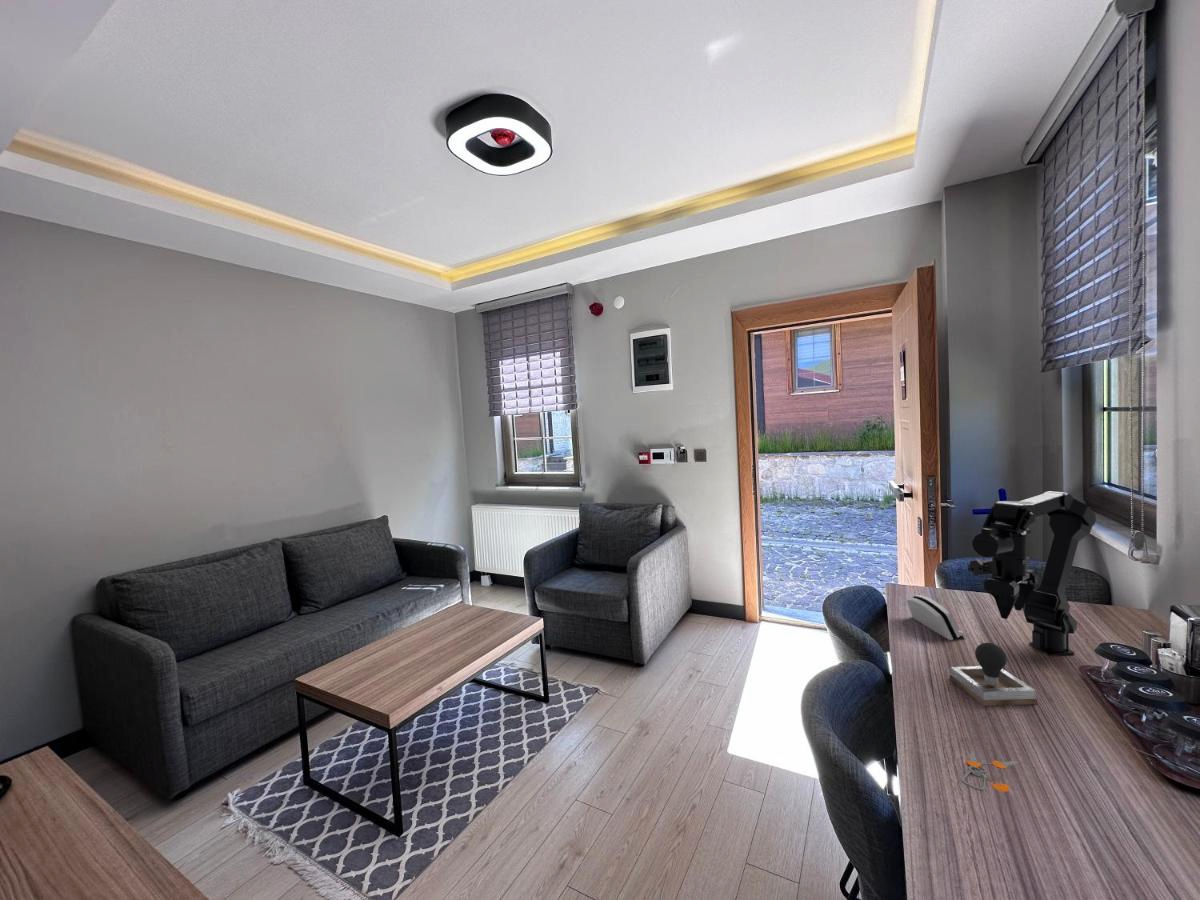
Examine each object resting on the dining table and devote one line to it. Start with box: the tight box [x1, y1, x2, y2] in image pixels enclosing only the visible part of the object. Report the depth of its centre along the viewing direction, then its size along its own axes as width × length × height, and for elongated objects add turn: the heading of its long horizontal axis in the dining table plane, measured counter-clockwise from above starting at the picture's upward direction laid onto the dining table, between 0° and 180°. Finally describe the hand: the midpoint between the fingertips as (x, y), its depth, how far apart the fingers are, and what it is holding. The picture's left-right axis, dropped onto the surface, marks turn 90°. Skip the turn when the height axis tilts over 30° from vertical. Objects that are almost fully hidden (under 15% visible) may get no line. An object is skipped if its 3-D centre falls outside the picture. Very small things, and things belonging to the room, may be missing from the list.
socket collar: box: [950, 665, 1036, 701], centre depth 111 cm, size 11×11×2 cm
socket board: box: [949, 674, 1038, 707], centre depth 111 cm, size 11×11×1 cm
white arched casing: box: [906, 594, 967, 641], centre depth 144 cm, size 17×5×10 cm, turn 179°
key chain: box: [960, 752, 1019, 793], centre depth 87 cm, size 13×7×1 cm, turn 130°
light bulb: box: [974, 642, 1007, 687], centre depth 111 cm, size 6×6×10 cm
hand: (1011, 614), depth 121 cm, fingers open, 9 cm apart
